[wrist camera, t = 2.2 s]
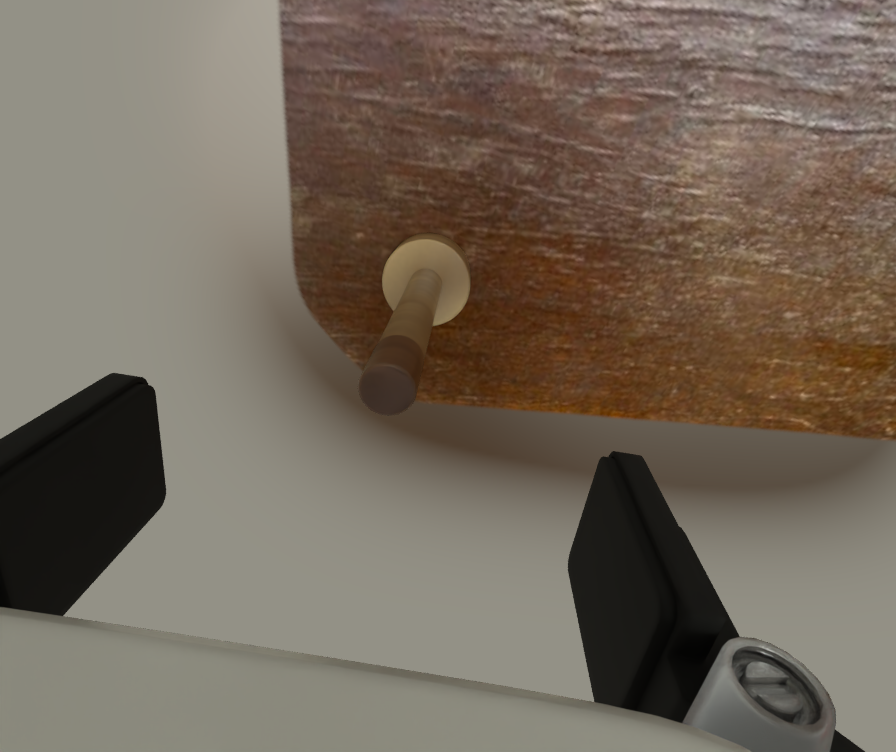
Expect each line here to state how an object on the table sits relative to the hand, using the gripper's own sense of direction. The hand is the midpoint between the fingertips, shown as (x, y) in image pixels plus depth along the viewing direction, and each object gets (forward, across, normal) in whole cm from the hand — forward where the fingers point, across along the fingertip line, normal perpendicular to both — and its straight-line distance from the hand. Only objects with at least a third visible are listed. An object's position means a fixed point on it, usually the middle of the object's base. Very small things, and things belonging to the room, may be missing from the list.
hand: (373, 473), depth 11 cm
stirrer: (+18, +1, 0) cm, 18 cm away
